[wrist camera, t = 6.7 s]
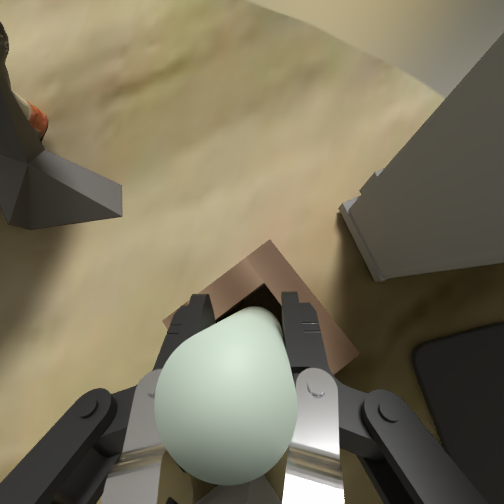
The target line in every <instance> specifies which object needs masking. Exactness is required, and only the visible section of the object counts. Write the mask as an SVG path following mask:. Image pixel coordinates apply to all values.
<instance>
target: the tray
mask: <svg viewBox="0 0 504 504" xmlns="http://www.w3.org/2000/svg"><path fill="white" fill-rule="evenodd" d="M195 504H282V502H281V500H280V498H279V497H278V495H277V494H276V492H275V491H274V489H273V487H272V486H271V484H270V483H269V481H268V480H267V478H266V476H265V475H264V474H263V475H262V476H260V477H258V478H256V479H254V480H252V481H250V482H246V483H243V484H238V485H217V486H216V487H215V488H214V489H212V490H211V491H210V492H209V493H207V494H206V495H205V496H203V497H202V498H201V499H200V500H198V501H197V502H196V503H195Z"/></svg>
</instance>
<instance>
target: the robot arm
mask: <svg viewBox="0 0 504 504" xmlns="http://www.w3.org/2000/svg"><path fill="white" fill-rule="evenodd" d="M281 300H282V328H283V339H284V343H285V348H286V352H287V356H288V359H289V363H290V367H291V372H292V376H293V380H294V384H295V389H296V394H297V405H298V410H297V421H296V427H295V430H294V434H293V437H292V439H291V442H290V444H289V451H288V457H287V465H286V473H285V482H284V492H283V501H282V504H344V488H343V475H342V469H341V466H340V456H339V447H340V448H342V449H345V450H347V451H349V452H352V453H354V454H356V455H357V457H358V459H359V460H360V462H361V464H362V466H363V467H364V469H365V471H366V473H367V474H368V476H369V478H370V480H371V481H372V483H373V485H374V487H375V489H376V490H377V492H378V494H379V496H380V497H381V499H382V501H383V503H384V504H488V503H487V502H486V500H485V499H484V498H483V497H482V495H481V494H480V493H479V492H478V490H477V489H476V488H475V487H474V486H473V484H472V483H471V482H470V481H469V479H468V478H467V477H466V476H465V475H464V473H463V472H462V471H461V470H460V468H459V467H458V466H457V465H456V464H455V462H454V461H453V460H452V459H451V457H450V456H449V455H448V454H447V453H446V451H445V450H444V449H443V448H442V446H441V445H440V444H439V443H438V442H437V440H436V439H435V438H434V437H433V435H432V434H431V433H430V432H429V431H428V429H427V428H426V427H425V426H424V424H423V423H422V422H421V421H420V420H419V418H418V417H417V416H416V415H415V413H414V412H413V411H412V410H411V409H410V407H409V406H408V405H407V404H406V403H405V401H404V400H403V399H401V398H400V397H399V396H398V395H396V394H394V393H393V392H390V391H388V390H383V389H377V390H373V391H371V392H370V393H369V394H368V393H365V392H362V391H359V390H356V389H353V388H350V387H348V386H346V385H344V384H342V383H341V382H340V381H338V380H337V379H336V378H335V377H334V375H333V374H332V372H331V370H330V368H329V365H328V361H327V356H326V352H325V347H324V343H323V338H322V334H321V329H320V325H319V321H318V316H317V312H316V310H315V309H314V307H313V306H312V305H311V303H310V302H306V303H299V298H298V292H297V291H284V292H281ZM214 324H215V315H214V311H213V307H212V303H211V299H210V295H209V294H192V296H191V298H190V301H189V304H188V306H181V307H180V308H179V309H178V310H177V311H176V313H175V314H174V315H173V318H172V321H171V323H170V327H169V329H168V331H167V335H166V337H165V339H164V342H163V345H162V347H161V350H160V353H159V355H158V358H157V361H156V363H155V366H154V368H153V370H152V371H151V372H150V373H148V374H147V375H145V376H144V377H143V378H142V379H141V380H140V382H139V383H138V385H136V386H134V387H131V388H128V389H125V390H122V391H119V392H116V393H113V394H110V393H109V391H107V390H106V389H103V388H97V389H93V390H91V391H89V392H87V393H85V394H84V395H82V396H81V397H80V398H79V399H78V400H77V401H76V402H75V403H74V404H73V405H72V406H71V407H70V408H69V410H68V411H67V412H66V413H65V414H64V415H63V416H62V417H61V418H60V419H59V420H58V421H57V423H56V424H55V425H54V426H53V427H52V428H51V429H50V430H49V431H48V432H47V433H46V434H45V436H44V437H43V438H42V439H41V440H40V441H39V442H38V443H37V444H36V445H35V446H34V447H33V449H32V450H31V451H30V452H29V453H28V454H27V455H26V456H25V457H24V458H23V459H22V460H21V462H20V463H19V464H18V465H17V466H16V467H15V468H14V469H13V470H12V471H11V472H10V473H9V474H8V476H7V477H6V478H5V479H4V480H3V481H2V482H1V483H0V504H96V503H97V501H98V500H99V498H100V497H101V495H102V494H103V496H102V500H101V504H193V488H192V482H191V476H190V474H189V473H188V472H186V471H185V470H184V469H183V468H181V467H180V466H179V465H178V464H177V463H176V462H175V460H174V459H173V458H172V457H171V456H170V454H169V452H168V451H167V449H166V448H165V446H164V444H163V442H162V440H161V437H160V435H159V432H158V429H157V424H156V420H155V410H154V399H155V391H156V386H157V382H158V379H159V376H160V373H161V371H162V369H163V367H164V365H165V363H166V361H167V360H168V358H169V357H170V356H171V354H172V353H173V352H174V351H175V350H176V348H177V347H178V346H180V345H181V344H182V343H183V342H184V341H186V340H187V339H189V338H190V337H192V336H193V335H195V334H197V333H199V332H201V331H203V330H205V329H206V328H208V327H210V326H212V325H214Z"/></svg>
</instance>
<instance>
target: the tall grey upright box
mask: <svg viewBox="0 0 504 504" xmlns="http://www.w3.org/2000/svg"><path fill="white" fill-rule="evenodd" d="M360 193H361V196H358V197H356V198H353V199H351V200H349V201H346V202H344V203H342V204H341V206H340V207H339V210H340V212H341V214H342V216H343V218H344V220H345V222H346V224H347V227H348V229H349V231H350V233H351V235H352V237H353V239H354V241H355V243H356V245H357V247H358V249H359V251H360V253H361V255H362V257H363V259H364V261H365V263H366V265H367V267H368V269H369V271H370V273H371V275H372V277H373V279H374V281H375V282H381V281H384V280H387V279H389V278H394V277H401V276H408V275H416V274H423V273H431V272H438V271H446V270H453V269H461V268H468V267H476V266H483V265H491V264H498V263H504V33H503V34H502V35H501V36H500V37H499V38H498V40H497V41H496V42H495V43H494V44H493V45H492V46H491V48H490V49H489V50H488V51H487V52H486V53H485V54H484V56H483V57H482V58H481V59H480V60H479V61H478V62H477V64H476V65H475V66H474V67H473V68H472V69H471V71H470V72H469V73H468V74H467V75H466V76H465V77H464V78H463V79H462V81H461V82H460V83H459V84H458V85H457V86H456V88H455V89H454V90H453V91H452V92H451V93H450V94H449V95H448V97H447V98H446V99H445V100H444V101H443V102H442V103H441V105H440V106H439V107H438V108H437V109H436V110H435V111H434V113H433V114H432V115H431V116H430V117H429V118H428V119H427V121H426V122H425V123H424V124H423V125H422V126H421V127H420V129H419V130H418V131H417V132H416V133H415V134H414V135H413V137H412V138H411V139H410V140H409V141H408V142H407V143H406V145H405V146H404V147H403V148H402V149H401V150H400V151H399V153H398V154H397V155H396V156H395V157H394V158H393V159H392V161H391V162H390V163H389V164H388V165H387V166H386V167H385V168H383V169H381V170H379V171H376V172H374V174H373V175H372V176H371V177H370V178H369V180H368V181H367V182H366V183H365V185H364V186H363V187H362V188H361V189H360Z"/></svg>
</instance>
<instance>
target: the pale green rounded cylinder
mask: <svg viewBox="0 0 504 504" xmlns="http://www.w3.org/2000/svg"><path fill="white" fill-rule="evenodd" d="M154 410H155V420H156V424H157V429H158V432H159V435H160V437H161V440H162V442H163V444H164V446H165V448H166V449H167V451H168V452H169V454H170V456H171V457H172V458H173V459H174V460H175V462H176V463H177V464H178V465H179V466H180V467H181V468H183V469H184V470H185V471H186V472H188V473H189V474H191V475H192V476H194V477H196V478H198V479H200V480H202V481H205V482H208V483H211V484H216V485H238V484H243V483H246V482H250V481H252V480H254V479H256V478H258V477H260V476H262V475H263V474H265V473H266V472H268V471H269V470H270V469H271V468H272V467H273V466H274V465H276V463H277V462H278V461H279V460H280V459H281V457H282V456H283V455H284V453H285V451H286V450H287V448H288V446H289V444H290V442H291V439H292V437H293V434H294V430H295V427H296V421H297V410H298V405H297V394H296V389H295V384H294V380H293V376H292V372H291V367H290V363H289V359H288V356H287V352H286V348H285V343H284V339H283V333H282V329H281V325H280V323H279V321H278V319H277V318H276V316H275V315H274V314H273V313H272V312H270V311H269V310H267V309H265V308H263V307H258V306H251V307H247V308H244V309H242V310H240V311H238V312H236V313H234V314H233V315H231V316H229V317H227V318H225V319H223V320H221V321H220V322H218V323H216V324H214V325H212V326H210V327H208V328H206V329H205V330H203V331H201V332H199V333H197V334H195V335H193V336H192V337H190V338H189V339H187V340H186V341H184V342H183V343H182V344H181V345H180V346H178V347H177V348H176V350H175V351H174V352H173V353H172V354H171V356H170V357H169V358H168V360H167V361H166V363H165V365H164V367H163V369H162V371H161V373H160V376H159V379H158V382H157V386H156V391H155V399H154Z"/></svg>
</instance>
